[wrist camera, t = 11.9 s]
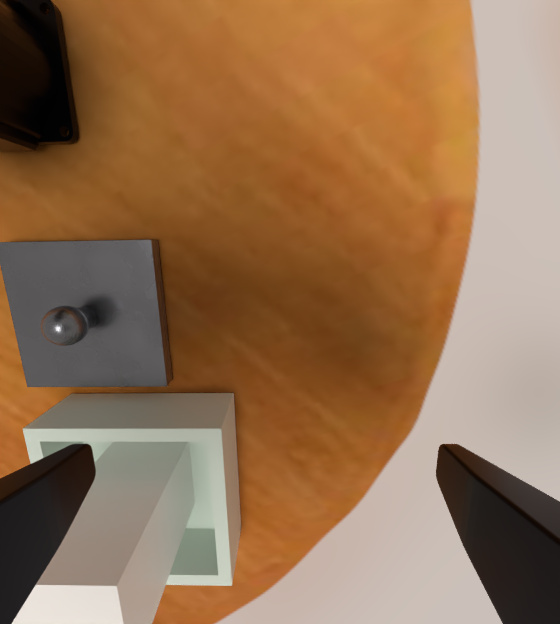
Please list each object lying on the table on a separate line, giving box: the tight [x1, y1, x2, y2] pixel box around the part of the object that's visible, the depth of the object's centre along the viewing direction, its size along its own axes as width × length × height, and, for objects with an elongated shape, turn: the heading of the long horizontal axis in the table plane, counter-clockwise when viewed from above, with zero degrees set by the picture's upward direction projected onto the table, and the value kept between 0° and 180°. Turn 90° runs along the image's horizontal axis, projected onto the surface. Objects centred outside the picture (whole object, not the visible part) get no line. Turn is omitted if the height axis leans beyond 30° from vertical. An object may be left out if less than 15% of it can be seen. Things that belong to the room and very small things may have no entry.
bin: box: [23, 393, 241, 586], centre depth 20 cm, size 11×11×4 cm
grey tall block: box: [12, 442, 195, 624], centre depth 17 cm, size 5×5×9 cm
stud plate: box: [0, 240, 173, 387], centre depth 18 cm, size 9×9×4 cm
